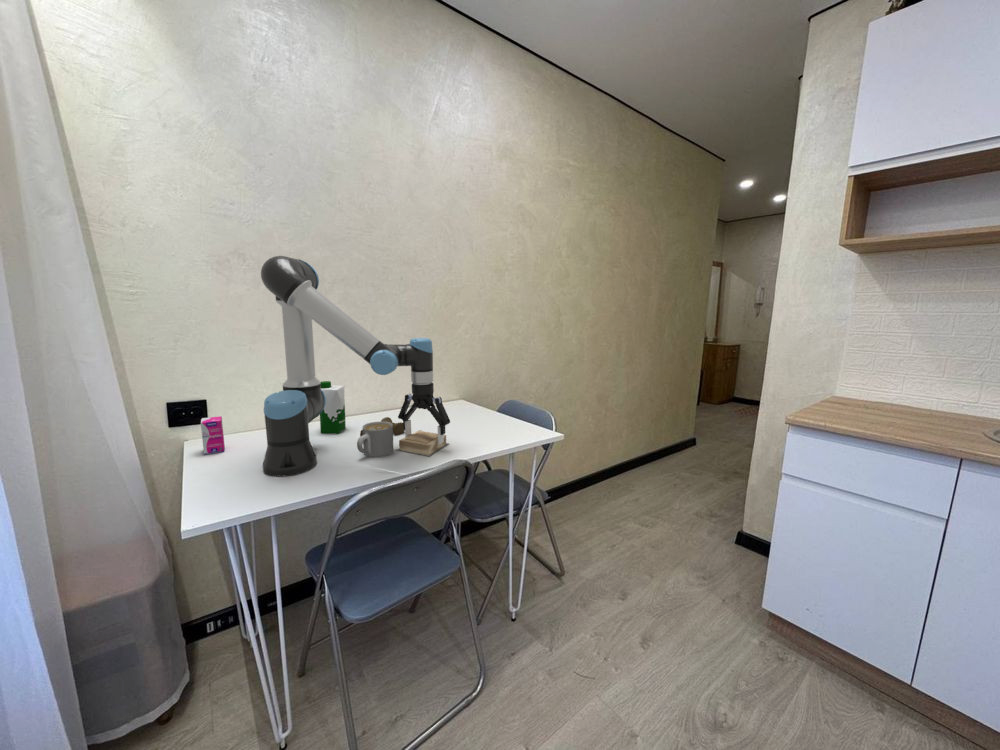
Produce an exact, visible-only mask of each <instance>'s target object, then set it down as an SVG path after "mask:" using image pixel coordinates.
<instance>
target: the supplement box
mask: <svg viewBox="0 0 1000 750" xmlns="http://www.w3.org/2000/svg"><path fill="white" fill-rule="evenodd" d="M223 427H224V426H223V418H222V416H219V415H218V416H213V417H211V416H210V417H202V418H201V419H200V431H201V438H202V440H201V441H202V447H203V448H202V449H203V455H204V456H205V455H212V454H217V453H218V454H219V453H224V452H225V450H226V449H225V447H226V445H225V437H224V436H225V435H224V428H223Z"/></svg>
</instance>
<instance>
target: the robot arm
mask: <svg viewBox="0 0 1000 750" xmlns="http://www.w3.org/2000/svg"><path fill="white" fill-rule="evenodd" d="M260 278H261V280H262V281H261V282H262V283H263V285H264V287H265V288H266V289H267V290H268V291H270V293H272V294H273V295H274V296H275V302H276V303H277V304H278V305H279V306H280V307H281V314H282V327H283V341H284V342H283V343H284V351H285V352H284V353H285V364H286V365H285V367H286V376H287V377H286V378H287V379H286V380H285V381H284V382H283V383H282V390H280V391H279V392H274V393H271V394H269V395H268V396H267V397H266V398H265V399H264V401H263V402H264V403H263V414H264V422H265V432H266V433H265V434H266V444H267V445H266V446H267V447H266V451H265V455H264V460H263V462H262V472H263V474H265V475H267V476H270V477H290V476H294V475H299V474H303V473H305V472H308V471H309V470H312V469H314V468H315V467H316V466H317V464H318V459H317V458H318V457H317V454H316V453H315V450H314V448H313V445H312V443H311V440H310V429H309V424H310V423H311V422H312V421H313V420H315V419H316V418H317V417H320V414H321V412H322V411H323V409H324V407H325V404H326V397H325V394H324V392H323V391H322V390H321V382H322V381H320V380H319V379H318V378H317V377H316V363H315V350H314V349H315V348H314V334H313V333H314V331H313V321H314V322H315V323H317V324H318V325H319V326H321V328H323V329H324V330H325V331H327V332H328V333H329V334H330V335H332V336H333V337H334V338H336V339H337V340H338V341H339V342H341V343H342V344H343V345H345V346H346V347H347V348H348V349H350V350H352V351H353V352H354V354H355V353H356V355H357V356H359V357H360V358H362V360H364V361H366V362H367V363H368V364H369V365H370V368H371V370H372V371H373V372H375V373H376V374H378V375H381V376H385V375H389V374H392V373H394V372H395V371H396V369H397V368H398V367H410V373H411V374H410V377H411V380H410V382H412V383H411V393H408V394H405V395H404V401H403V403H402V406H401V408H400V411H399V413H398V416H397V418H398V419H399V420H400V419H401V420H402V423H403V428H404V429H405V431H404V433H405V435H404V436H405V437H407V436H409V435H411V434H412V420H411V419H410V418H411V417H412V416H413V414H414V413H415V411H416V410H417V409H419V410H420V409H421V410H427V411H428V412H430V414H431V415H432V417H433V418H434V420H435V421H436V422H437V424H438V425H437V434H438V444H441V443H443V442H444V435H446V426H448V425H449V424H451V420H450V417H449V414H448V413H447V410H446V408H445V407H444V404H443V398H442V397H441V396H438V397H434V392H435V391H434V388H435V387H434V383H433V382H434V360H433V359H434V357H433V356H434V355H433V354H434V351H433V342H432V339H430V338H428V337H417V338H416V337H413V338H411V339H410V340H409V343H408V344H407V343H406V344H392V343H391V344H387V343H384V342H382V341H381V340H380V339H378V338H377V337H376V336H375V335H373V334H372V333H371V332H370V331H368V330H367V329H366V328H365V327H364V326H362V325H361V324H360V323H359V322H357V321H356V320H354V319H353V318H352V317H351V316H350V315H348V314H347V313H346V312H344V311H343V310H342V309H341V308H340V307H338V305H336V304H335V303H333V302H332V301H331V300H330V299H328V298H327V297H326V296H325V295H324V294H322V293H320V291H319V290H318V288H319V284H320V279H319V274H318V273H317V270H316V269H315V268H314V266H312V265H311V264H309V263H308V262H306V261H305V260H302V259H299V258H292V257H290V256H285V255H284V256H283V255H277V256H276V255H275V256H272V257H270V258H268V259H267V260H266V261H265V262H264V263H263V265H262V266H261V269H260ZM411 401H412V402H413V403H412V404H411ZM410 404H411V406H410ZM409 407H410V408H409ZM405 437H404V438H405ZM311 468H312V469H311ZM302 472H303V473H302Z"/></svg>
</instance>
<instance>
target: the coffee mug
mask: <svg viewBox="0 0 1000 750" xmlns="http://www.w3.org/2000/svg"><path fill="white" fill-rule="evenodd" d="M362 430H363V435H362V436H361V437H358V439H357V443H356V448H357V450H358V452H359V453H361V454H363V455H364V456H366V457H368V458H383V457H386V456H389V455H391V454H393V453H394V433H393V425H392V423H389V422H381V421H372V422H369V423H368V422H367V423H364V424H363V425H362Z"/></svg>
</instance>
